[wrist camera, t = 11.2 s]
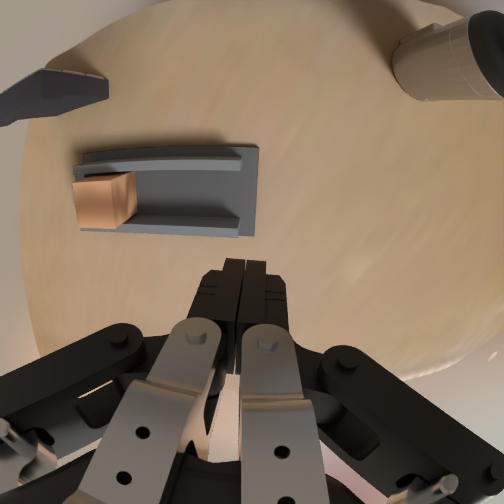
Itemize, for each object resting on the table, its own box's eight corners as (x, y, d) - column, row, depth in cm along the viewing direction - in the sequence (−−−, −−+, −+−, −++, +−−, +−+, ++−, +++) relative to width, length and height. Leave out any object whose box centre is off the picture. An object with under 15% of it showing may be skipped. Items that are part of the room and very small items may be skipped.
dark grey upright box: (109, 75, 29) (41, 62, 15) (110, 102, 31) (39, 99, 17) (55, 95, 29) (-13, 97, 16) (56, 119, 31) (-13, 129, 18)
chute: (85, 153, 34) (66, 158, 29) (259, 147, 33) (258, 150, 29) (92, 227, 39) (77, 238, 35) (254, 234, 39) (253, 248, 34)
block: (100, 172, 34) (72, 182, 28) (135, 170, 34) (110, 180, 28) (103, 211, 37) (78, 227, 30) (137, 211, 37) (115, 228, 30)
